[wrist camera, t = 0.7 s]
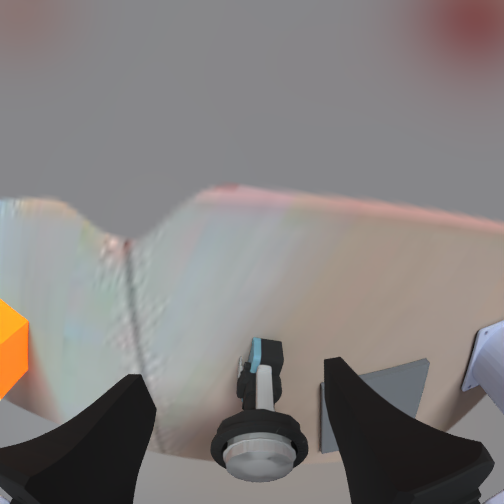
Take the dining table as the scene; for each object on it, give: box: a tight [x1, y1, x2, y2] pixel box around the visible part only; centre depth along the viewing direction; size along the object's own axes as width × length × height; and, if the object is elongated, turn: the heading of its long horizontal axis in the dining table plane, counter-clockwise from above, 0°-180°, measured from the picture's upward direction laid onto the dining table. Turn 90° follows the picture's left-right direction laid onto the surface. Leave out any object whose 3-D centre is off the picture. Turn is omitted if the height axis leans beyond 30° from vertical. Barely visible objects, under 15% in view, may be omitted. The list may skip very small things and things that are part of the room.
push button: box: [211, 337, 308, 482], centre depth 17 cm, size 7×5×10 cm
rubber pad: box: [321, 358, 430, 454], centre depth 23 cm, size 10×10×1 cm
